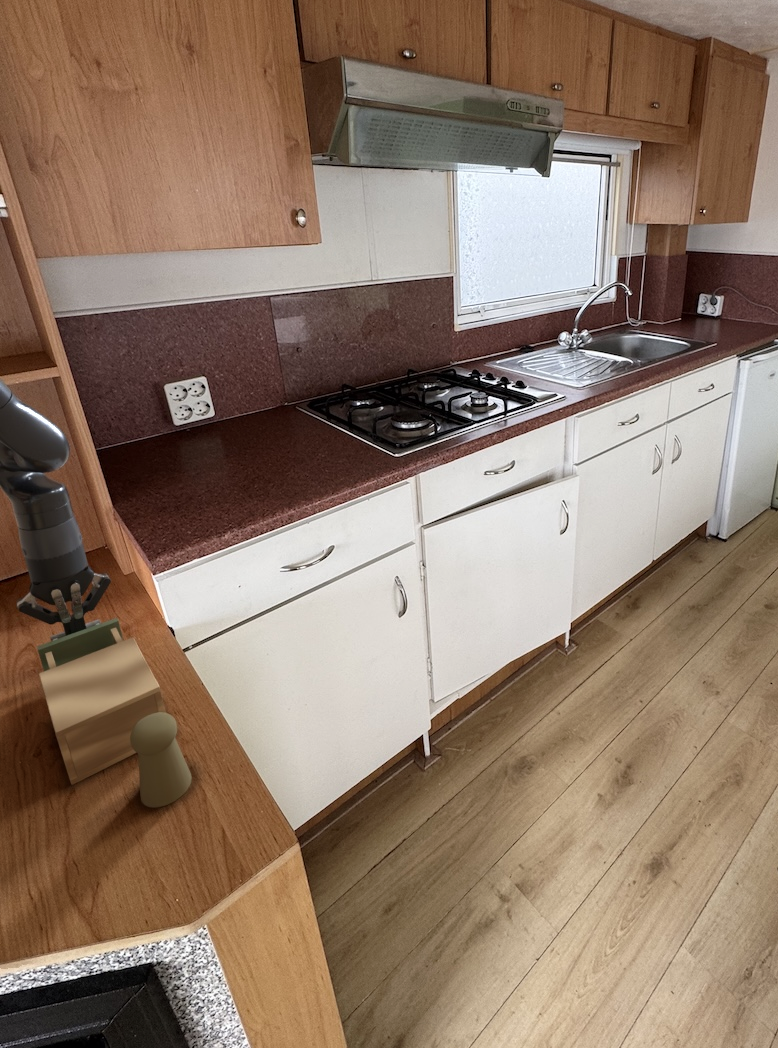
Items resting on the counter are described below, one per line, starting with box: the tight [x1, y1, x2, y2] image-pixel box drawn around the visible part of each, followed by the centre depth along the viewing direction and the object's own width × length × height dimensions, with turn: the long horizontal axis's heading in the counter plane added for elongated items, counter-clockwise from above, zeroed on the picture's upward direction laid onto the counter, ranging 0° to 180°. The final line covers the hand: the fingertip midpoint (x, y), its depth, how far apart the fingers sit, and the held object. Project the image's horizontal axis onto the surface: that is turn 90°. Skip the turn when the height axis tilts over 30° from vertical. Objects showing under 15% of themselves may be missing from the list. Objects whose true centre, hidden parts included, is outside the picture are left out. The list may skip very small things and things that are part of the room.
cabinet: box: [38, 637, 166, 786], centre depth 85 cm, size 15×12×9 cm
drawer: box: [36, 617, 124, 672], centre depth 93 cm, size 19×11×7 cm, turn 44°
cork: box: [130, 712, 193, 808], centre depth 75 cm, size 6×6×11 cm
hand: (77, 636), depth 97 cm, fingers closed
